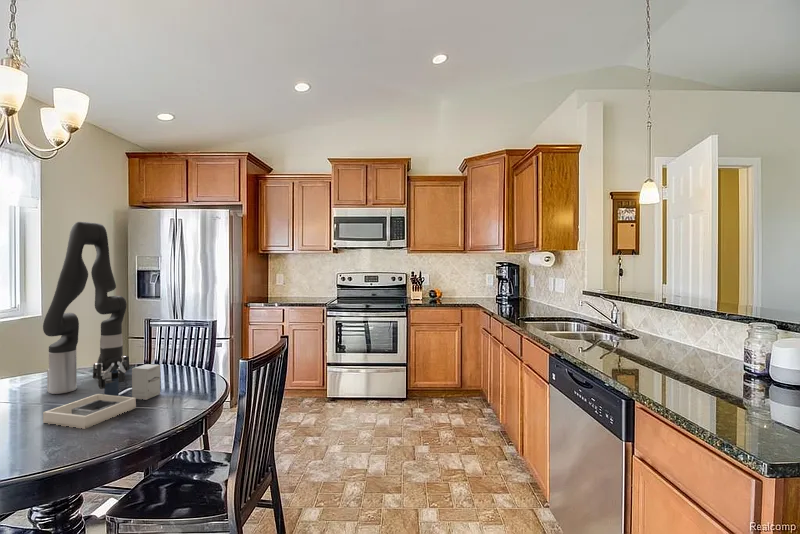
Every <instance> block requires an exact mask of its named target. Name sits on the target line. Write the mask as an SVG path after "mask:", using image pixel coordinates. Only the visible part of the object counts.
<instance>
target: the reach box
mask: <svg viewBox="0 0 800 534" xmlns="http://www.w3.org/2000/svg"><path fill="white" fill-rule="evenodd" d="M96 400H104V401H113V402H120V403H118V404H115V405H113V406H110V407H107V408H105V409H102V410H99V411H97V412H94V413H91V414H89V415H86V416H83V415H75V414H72V409H73V408H76V407H79V406H82V405H85V404H88V403H91V402H93V401H96ZM136 401H137V399H136V398H133V397H132V396H123V395H118V396H114V395H104V393H103V394H102V393H95V394H93V395H90V396H87V397H84V398H81V399H78V400H75V401H72V402H70V403H66V404H64V405H61V406H60V405H59V406H57V407H54V408H51V409H48V410H46V411H43V413H42V415H43V416H42V419H43V421H42V422H43V423H48V424H47V425H50V424H56V425H55V426H58V425H61V426H60V427H66V426H69V427H68V428H73V427H76V428H75V429H81V428H82V429H83V430H86V429H88V428H91V427H93V425H94V426H96V425H98V424H100V423H104V422H105V420H106V421H107V420H110V418H111V419H113V418H115V417H117V415H118V416H120V415H123V414H125V413H127V411H128V412H130V411H132V410H134V409H136V408H137V402H136ZM96 410H98V409H96ZM94 411H95V410H94ZM124 412H125V413H124ZM122 413H123V414H122ZM119 414H120V415H119ZM112 417H113V418H112Z"/></svg>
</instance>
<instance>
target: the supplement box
mask: <svg viewBox="0 0 800 534" xmlns="http://www.w3.org/2000/svg"><path fill="white" fill-rule="evenodd" d="M159 395H161V364H149V363H145V364H142V365H139V366H136V367H132V369H131V397H133V398H136V400H142V399H143V400H146V401H147V400H149V399H151V398H154V397H157V396H159Z"/></svg>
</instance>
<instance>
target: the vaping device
mask: <svg viewBox="0 0 800 534" xmlns="http://www.w3.org/2000/svg"><path fill="white" fill-rule="evenodd" d="M119 385H120V382H119V380H118V370H113V371H111V379H105V388H104V389H103V391H104V393H103V394H104V395H114V396H119V387H120V386H119Z"/></svg>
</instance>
